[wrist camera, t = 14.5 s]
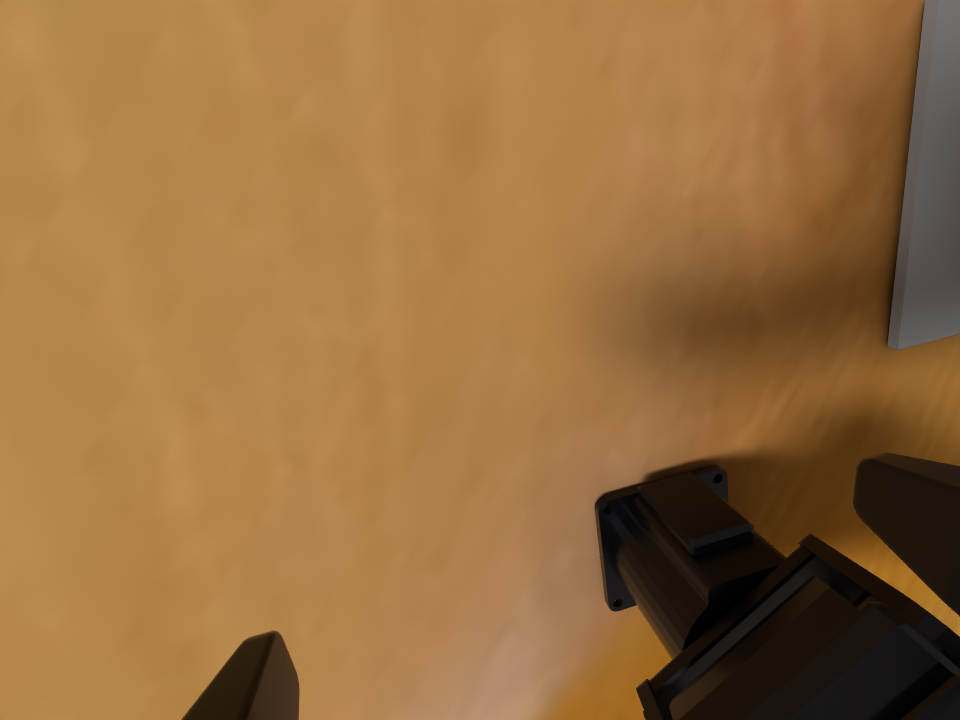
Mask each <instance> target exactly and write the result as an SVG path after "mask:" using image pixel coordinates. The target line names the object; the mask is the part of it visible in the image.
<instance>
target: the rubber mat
mask: <svg viewBox="0 0 960 720" xmlns="http://www.w3.org/2000/svg"><path fill="white" fill-rule="evenodd" d="M957 334H960V0H925V5H924V14H923V23H922V33H921V42H920V51H919V60H918V69H917V79H916V88H915V97H914V106H913V115H912V125H911V134H910V143H909V152H908V161H907V171H906V180H905V189H904V198H903V207H902V217H901V226H900V235H899V244H898V253H897V263H896V272H895V281H894V290H893V299H892V309H891V318H890V327H889V336H888V345H887V347H889V348H892V349H896V350H900V349H904V348H907V347H911V346H915V345H919V344H923V343H926V342H930V341H934V340H938V339H942V338H945V337H949V336H953V335H957Z"/></svg>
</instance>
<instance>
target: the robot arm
mask: <svg viewBox="0 0 960 720" xmlns="http://www.w3.org/2000/svg"><path fill="white" fill-rule="evenodd" d="M715 475H717V476H716V477H715V478H714V476H715ZM853 504H854V508H855V510H856V513H857V514H858V516H859V517H860V518H861V519H862V521H863V522H864V523H865V524H866V525H867V526H868V527H869V528H870V529H871V530H872V531H873V532H874V533H875V534H876V535H877V536H878V537H879V538H880V539H881V540H882V541H883V542H884V543H885V544H886V545H887V546H888V547H889V548H890V549H891V550H892V551H893V552H894V553H895V554H896V555H897V556H898V557H899V558H900V559H901V560H902V561H903V562H904V563H905V564H906V565H907V566H908V567H909V568H910V569H911V570H912V571H913V572H914V573H915V574H916V575H917V576H918V577H919V578H920V579H921V580H922V581H923V582H924V583H925V584H926V585H927V586H928V587H929V588H930V589H931V590H932V591H933V592H934V593H935V594H936V595H937V596H938V597H939V598H940V599H941V600H943V601H944V602H945V603H946V604H947V605H948V606H949V607H950V608H951V609H952V610H953V611H955V612H956V613H957V614H958V615H959V616H960V466H955V465H950V464H944V463H939V462H934V461H929V460H923V459H918V458H913V457H908V456H902V455H897V454H892V453H882V454H878V455H875V456H871V457H868V458H864V459H862V460H861V461H860V462H859V463H858V465H857V469H856V478H855V488H854V498H853ZM608 505H610V506H609V508H608V509H606V510H604V508H605V507H606V506H608ZM595 516H596V525H597V533H598V542H599V551H600V559H601V568H602V577H603V586H604V594H605V601H606V603H607V605H608V607H609V608H610V609H611V610H612V611H620V610H623V609H626V608H630V607H633V606H636V605H637V606H638V608H639V609H640V611H641V612H642V614H643V615H644V617H645V618H646V620H647V621H648V623H649V624H650V626H651V627H652V629H653V631H654V632H655V634H656V635H657V637H658V638H659V640H660V641H661V643H662V644H663V646H664V647H665V649H666V650H667V652H668V653H669V655H670V656H671V658H672V661H671V662H669V663H668V664H667V665H666V666H665V667H664V668H663V669H662V670H660V671H659V672H658V673H657V674H656V675H655V676H654V677H653V678H651V679H650V680H648V679H646V680H645V681H644V682H643V683H642V684H640V685H639V686H638V687H637V688H636V690H637V693H638V695H639V698H640V701H641V703H642V706H643V709H644V711H643V714H644V717H645V719H646V720H960V637H959V636H958V635H957V634H956V633H954V632H953V631H952V630H951V629H950V628H948V627H947V626H946V625H945V624H943V623H942V622H941V621H939V620H938V619H937V618H936V617H934V616H933V615H932V614H931V613H929V612H928V611H926V610H925V609H924V608H922V607H921V606H920V605H918V604H917V603H916V602H914V601H913V600H911V599H910V598H909V597H907V596H906V595H904V594H903V593H901V592H900V591H898V590H897V589H895V588H894V587H892V586H891V585H889V584H887V583H886V582H884V581H883V580H881V579H880V578H878V577H877V576H875V575H874V574H872V573H870V572H869V571H867V570H866V569H864V568H863V567H861V566H860V565H858V564H857V563H855V562H853V561H852V560H850V559H849V558H847V557H846V556H844V555H843V554H841V553H840V552H838V551H836V550H835V549H833V548H832V547H830V546H829V545H827V544H826V543H824V542H823V541H821V540H819V539H818V538H816V537H815V536H813V535H812V534H809V535H808V536H807V537H805V538H804V539H803V540H802V541H801V542H800V543H799V544H800V547H799V548H797V549H796V550H795V551H794V552H793V553H792V554H791V555H790V556H788V557H787V558H786V557H785V556H784V555H783V554H781V553H780V552H779V551H778V550H777V549H776V548H774V547H773V546H772V545H771V544H770V543H769V542H767V541H766V540H765V539H764V538H763V537H762V536H760V535H759V534H758V533H757V532H756V531H755V530H754V526H753V524H752V523H751V522H750V521H748V520H747V519H746V518H745V517H744V516H743V515H741V514H740V513H739V512H738V511H737V510H735V509H734V508H733V507H732V506H731V505H730V504H728V488H727V472H726V471H725V470H724V469H722V468H721V467H720V466H717V465H711V466H708V467H704V468H701V469H697V470H694V471H690V472H687V473H683V474H680V475H676V476H673V477H669V478H666V479H662V480H659V481H655V482H652V483H648V484H645V485H641V486H638V487H634V488H631V489H627V490H624V491H620V492H616V493H613V494H609V495H606V496H603V497H601V498H599V499H598V500H597V502H596V503H595ZM615 600H616V601H615ZM182 720H299V681H298V676H297V672H296V670H295V667H294V665H293V662H292V660H291V657H290V655H289V652H288V650H287V647H286V645H285V642H284V640H283V638H282V636H281V634H280V633H279V632H277V631H270V632H266V633H263V634H260V635H256V636H253V637H250V638H248V639H246V640H245V641H243V642H242V643H241V645H240V646H239V647H238V648H237V650H236V651H235V652H234V653H233V655H232V656H231V657H230V658H229V660H228V661H227V662H226V664H225V665H224V666H223V667H222V669H221V670H220V671H219V672H218V674H217V675H216V676H215V678H214V679H213V680H212V681H211V683H210V684H209V685H208V686H207V688H206V689H205V690H204V692H203V693H202V694H201V695H200V697H199V698H198V699H197V700H196V702H195V703H194V704H193V706H192V707H191V708H190V709H189V711H188V712H187V713H186V714H185V716H184V717H183V718H182Z"/></svg>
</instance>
